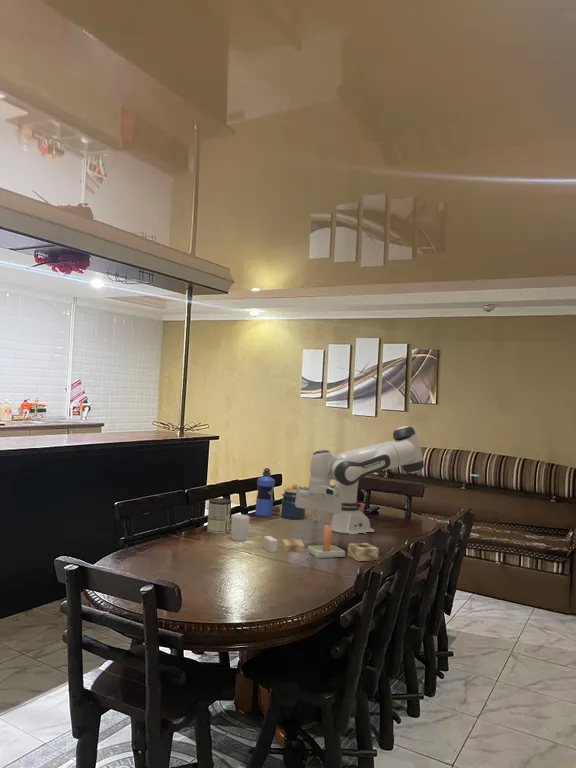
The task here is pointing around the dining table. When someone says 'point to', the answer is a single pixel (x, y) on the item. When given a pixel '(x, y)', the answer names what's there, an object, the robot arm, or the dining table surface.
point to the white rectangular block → (270, 544)
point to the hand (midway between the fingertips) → (316, 520)
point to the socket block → (362, 551)
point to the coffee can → (219, 515)
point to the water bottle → (265, 494)
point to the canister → (291, 505)
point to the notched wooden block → (293, 545)
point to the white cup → (239, 527)
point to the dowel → (327, 538)
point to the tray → (333, 552)
